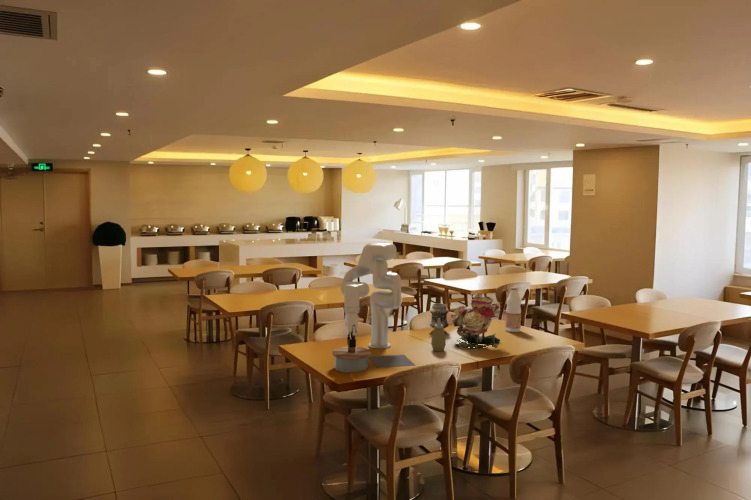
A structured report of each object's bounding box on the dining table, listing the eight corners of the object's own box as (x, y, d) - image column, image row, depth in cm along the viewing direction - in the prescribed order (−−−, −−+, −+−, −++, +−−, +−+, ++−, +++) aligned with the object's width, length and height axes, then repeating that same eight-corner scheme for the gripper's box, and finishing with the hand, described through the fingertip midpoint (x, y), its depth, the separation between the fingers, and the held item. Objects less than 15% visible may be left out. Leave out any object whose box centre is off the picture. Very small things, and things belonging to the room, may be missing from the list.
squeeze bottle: (432, 347, 322) (433, 316, 321) (446, 349, 320) (447, 317, 319) (429, 351, 315) (430, 319, 313) (444, 352, 312) (445, 320, 311)
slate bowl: (332, 364, 288) (332, 350, 287) (363, 362, 292) (363, 349, 291) (338, 373, 273) (338, 359, 272) (370, 371, 276) (370, 357, 276)
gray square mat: (367, 357, 301) (367, 356, 301) (404, 355, 305) (404, 354, 305) (376, 368, 281) (376, 367, 281) (415, 366, 286) (415, 365, 286)
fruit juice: (509, 332, 362) (510, 289, 359) (502, 329, 371) (504, 286, 369) (523, 332, 364) (524, 288, 362) (516, 328, 373) (517, 286, 371)
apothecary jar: (438, 329, 368) (438, 302, 367) (452, 332, 359) (453, 304, 358) (425, 332, 360) (425, 304, 358) (439, 335, 351) (440, 307, 350)
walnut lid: (329, 350, 289) (329, 336, 288) (366, 348, 293) (366, 334, 293) (335, 360, 270) (336, 345, 270) (374, 358, 275) (375, 343, 274)
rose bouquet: (451, 337, 347) (452, 289, 344) (500, 340, 341) (501, 291, 338) (448, 348, 321) (449, 296, 319) (501, 351, 316) (503, 298, 313)
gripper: (341, 306, 287) (341, 342, 289) (347, 313, 271) (347, 350, 272) (355, 305, 289) (355, 341, 290) (363, 312, 272) (362, 350, 274)
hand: (351, 345), depth 281 cm, fingers open, 4 cm apart
